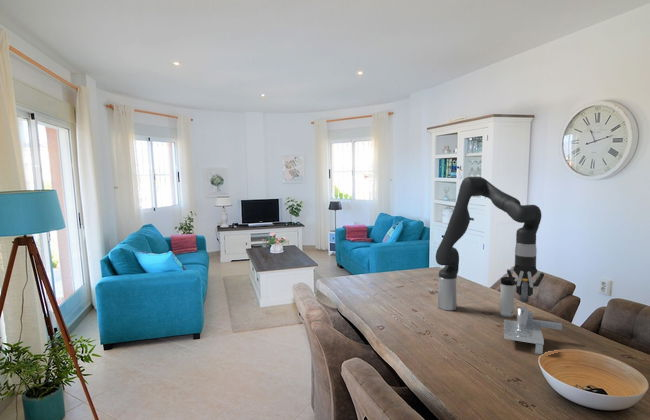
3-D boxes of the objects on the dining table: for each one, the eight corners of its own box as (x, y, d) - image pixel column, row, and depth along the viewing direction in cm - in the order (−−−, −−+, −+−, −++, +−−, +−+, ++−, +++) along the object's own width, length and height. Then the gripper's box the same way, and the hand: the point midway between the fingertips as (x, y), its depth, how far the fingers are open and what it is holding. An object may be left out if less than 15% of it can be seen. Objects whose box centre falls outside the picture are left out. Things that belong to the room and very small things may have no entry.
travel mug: (516, 318, 175) (517, 279, 173) (501, 317, 177) (502, 279, 174) (512, 313, 181) (513, 275, 179) (498, 312, 183) (499, 275, 181)
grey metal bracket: (504, 348, 146) (504, 316, 145) (503, 331, 161) (504, 302, 160) (567, 359, 137) (569, 324, 135) (560, 340, 151) (561, 309, 150)
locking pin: (519, 301, 144) (520, 278, 143) (519, 299, 147) (519, 275, 146) (529, 303, 142) (530, 279, 141) (528, 300, 145) (529, 276, 144)
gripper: (506, 254, 142) (505, 295, 144) (547, 257, 136) (545, 300, 138) (505, 250, 149) (504, 290, 151) (544, 253, 143) (543, 294, 144)
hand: (524, 294), depth 144 cm, fingers closed on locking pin, 3 cm apart
